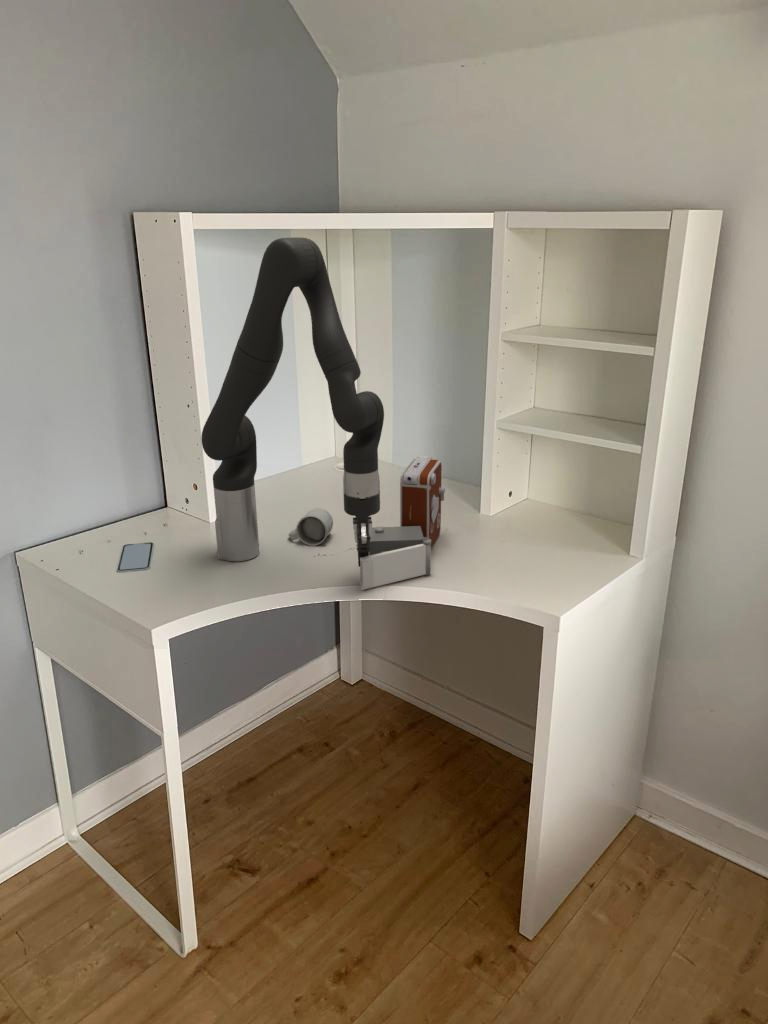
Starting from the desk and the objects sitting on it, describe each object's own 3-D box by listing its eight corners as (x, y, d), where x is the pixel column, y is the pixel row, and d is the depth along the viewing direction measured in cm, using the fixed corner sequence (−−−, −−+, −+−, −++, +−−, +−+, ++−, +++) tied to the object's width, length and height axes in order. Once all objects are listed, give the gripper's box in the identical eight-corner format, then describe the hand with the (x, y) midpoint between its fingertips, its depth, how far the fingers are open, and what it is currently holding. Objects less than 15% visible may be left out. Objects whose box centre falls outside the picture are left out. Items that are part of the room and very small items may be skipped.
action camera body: (370, 578, 173) (369, 541, 170) (368, 559, 182) (367, 524, 179) (432, 576, 174) (432, 539, 171) (427, 557, 183) (427, 522, 180)
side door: (363, 590, 167) (362, 559, 164) (360, 587, 168) (359, 556, 166) (432, 574, 174) (432, 544, 172) (428, 571, 176) (428, 541, 173)
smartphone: (115, 571, 177) (122, 544, 191) (116, 575, 178) (123, 548, 191) (150, 568, 179) (154, 541, 192) (150, 572, 179) (154, 545, 193)
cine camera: (449, 526, 201) (451, 450, 194) (433, 557, 184) (434, 475, 176) (414, 523, 203) (414, 448, 196) (395, 553, 186) (394, 472, 179)
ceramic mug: (335, 534, 197) (333, 505, 195) (327, 546, 190) (325, 516, 187) (294, 532, 199) (292, 503, 196) (284, 545, 192) (282, 515, 189)
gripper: (342, 479, 169) (345, 553, 176) (344, 501, 157) (347, 580, 163) (377, 478, 170) (378, 552, 176) (382, 500, 157) (383, 578, 164)
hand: (363, 565), depth 170 cm, fingers closed
